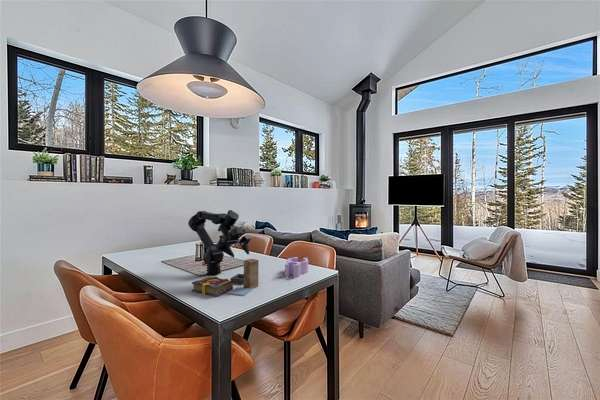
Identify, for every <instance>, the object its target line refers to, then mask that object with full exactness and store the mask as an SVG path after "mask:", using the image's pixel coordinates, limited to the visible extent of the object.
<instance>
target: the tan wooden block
mask: <svg viewBox="0 0 600 400" xmlns="http://www.w3.org/2000/svg"><path fill="white" fill-rule="evenodd" d="M243 274H244V284H243V288H249V289H252V290H253V289H256V288H258V287H259V259H255V258H248V259H243Z"/></svg>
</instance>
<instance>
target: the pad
mask: <svg viewBox="0 0 600 400" xmlns="http://www.w3.org/2000/svg"><path fill="white" fill-rule="evenodd" d="M251 291H253V289H249V288H245V287H239V286H237V287H235V288H233V289H232V290H229V291H228V292H227V293H228V295H232V296H241V297H245V296H246V295H248V294H249V293H251Z"/></svg>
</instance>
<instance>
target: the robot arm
mask: <svg viewBox="0 0 600 400" xmlns="http://www.w3.org/2000/svg"><path fill="white" fill-rule="evenodd" d="M239 218H240V215H239V214H238V213H237V212H235V211H233V210H232V209H231V210H230V209H228V211H227V213H213V212H209V211H206V210H201V211H200V210H199V211H197V212H196V214H194V215H193V216H191V217H190V219H189V220H188V221H187V224H188V227H189V229H191V230H192V231H193V232H195V233H196V235H198V237H199V239H200V241H201V243H202V244H203V246H204V248H205V249H206V254H205V255H206V256H205V258H204V259H203V262H204V265H206V273H205V275H207V276H217V275H219V274H222V271H221V263H223V261H224V254H227V255H228V256H230V257H231V258H233V259H234V258H235V254H234V252H233V249H232V248H231V246H233V245H239V246H240V248H241V249H242V250H243V251H244V252H245V253H246V254H247V255H250V249H249V243H250V242H251V240H252V238H251V236H250V235H243V234H244V233H245V232H246V229H245V227H244V226H239V227H234V226H235V225H236V223H237V221H239ZM207 220H208V221H211V223H212V224H214V225H219V226H218V228H217V232H221V234H222V235H223V237H222V238H220V239H219V240H218V242H217V243H216V244H214V241H213V240H212V239H211V236H210V235H209V234H208V232H207V230H206V229H205V226H206V221H207ZM233 227H234V228H233ZM241 235H243V236H242V237H241Z"/></svg>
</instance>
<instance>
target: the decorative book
mask: <svg viewBox="0 0 600 400" xmlns="http://www.w3.org/2000/svg"><path fill="white" fill-rule="evenodd" d="M191 284H192V285H193V289H191V292H192V293H193V292H194V293H199V294H202V295H209V296H210V297H215V298H217V297H219V298H220V297H222V295H223V294H225V293H228V292H230V291H232V290H233V289H234V283H233V281H231V279H229V278H220V277H218V276H208V277H204V278H201V279H197V280H195V281H192V282H191Z"/></svg>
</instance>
